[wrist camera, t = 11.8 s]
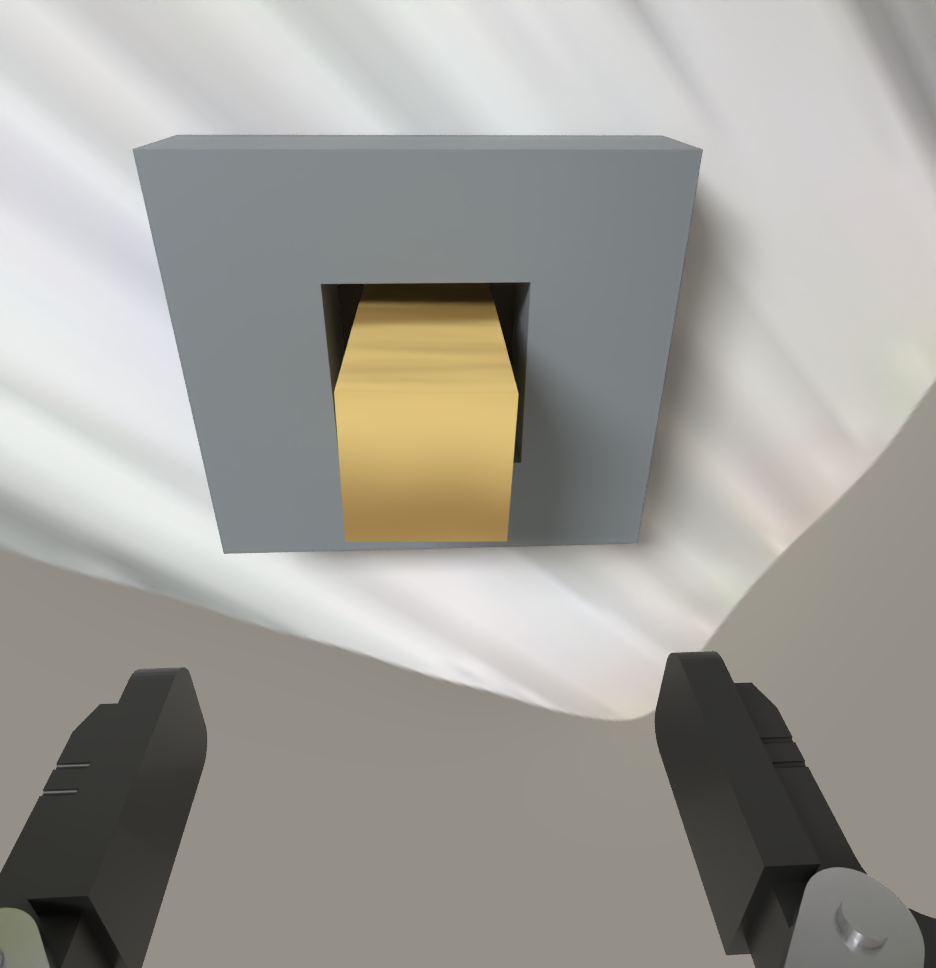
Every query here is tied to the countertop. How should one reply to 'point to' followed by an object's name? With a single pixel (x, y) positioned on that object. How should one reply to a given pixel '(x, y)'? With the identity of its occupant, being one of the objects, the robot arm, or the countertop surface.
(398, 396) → the peg
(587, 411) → the hole block
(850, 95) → the countertop surface
